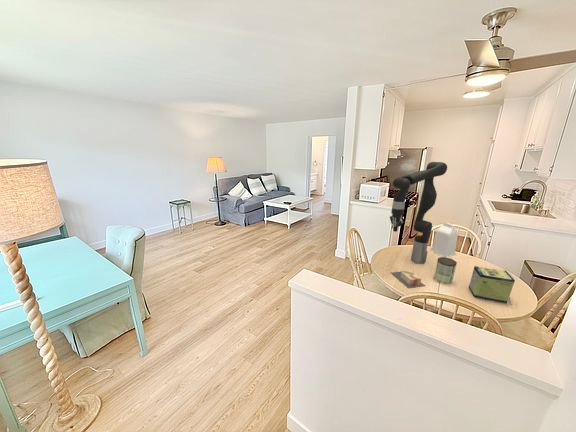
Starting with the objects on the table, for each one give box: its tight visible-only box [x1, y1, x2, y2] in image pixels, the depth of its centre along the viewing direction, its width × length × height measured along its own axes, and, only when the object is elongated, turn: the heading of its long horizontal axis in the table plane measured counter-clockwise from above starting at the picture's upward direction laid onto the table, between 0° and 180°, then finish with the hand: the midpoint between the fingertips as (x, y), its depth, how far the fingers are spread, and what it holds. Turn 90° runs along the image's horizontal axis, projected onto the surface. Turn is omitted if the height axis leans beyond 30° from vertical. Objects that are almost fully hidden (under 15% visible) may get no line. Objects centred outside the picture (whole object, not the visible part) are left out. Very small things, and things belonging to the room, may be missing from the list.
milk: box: [430, 222, 459, 258], centre depth 180 cm, size 12×12×26 cm
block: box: [400, 270, 422, 286], centre depth 146 cm, size 7×4×10 cm
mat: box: [391, 270, 426, 289], centre depth 149 cm, size 12×18×1 cm, turn 10°
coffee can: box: [433, 256, 458, 285], centre depth 146 cm, size 10×10×14 cm
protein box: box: [468, 265, 516, 304], centre depth 130 cm, size 10×16×16 cm
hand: (395, 231), depth 156 cm, fingers closed
